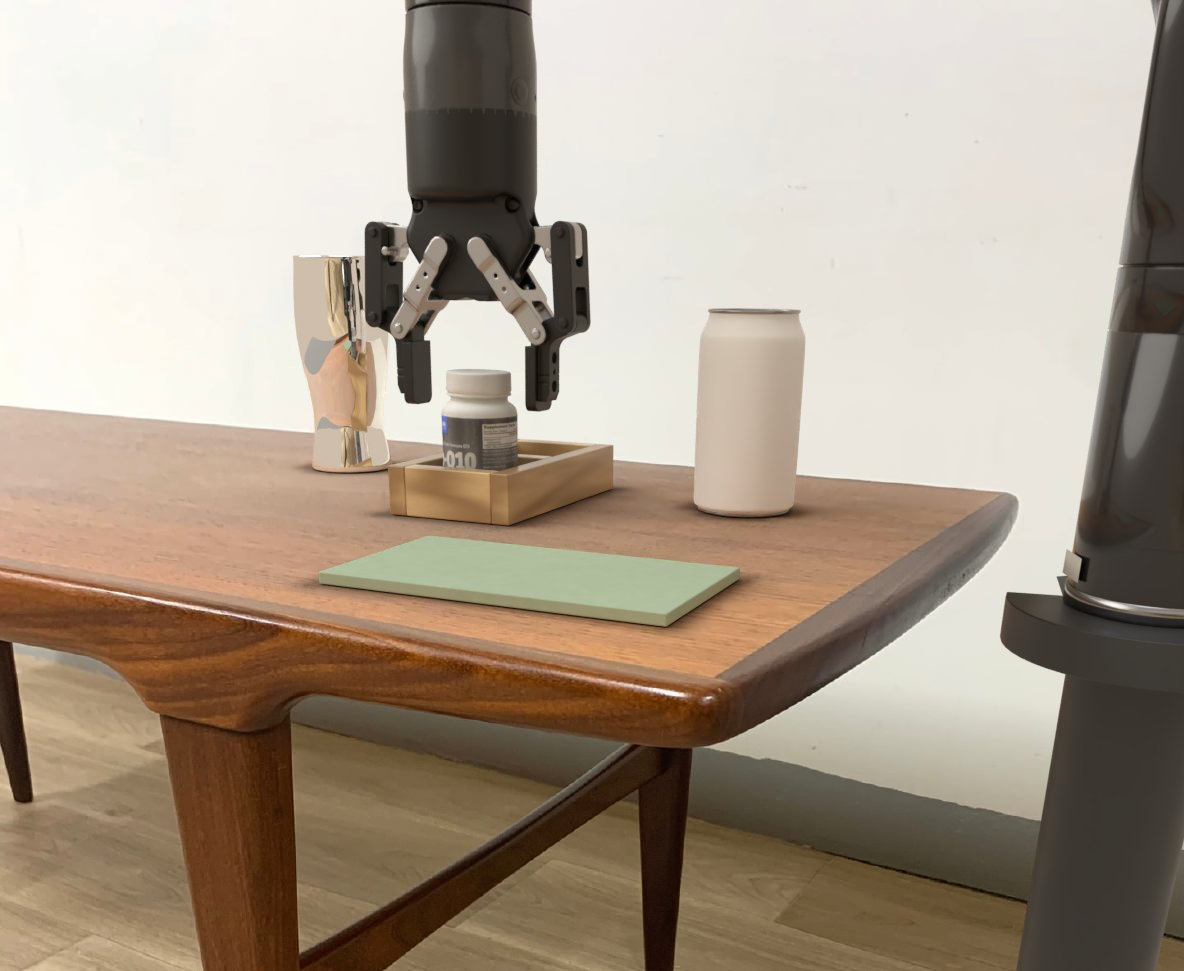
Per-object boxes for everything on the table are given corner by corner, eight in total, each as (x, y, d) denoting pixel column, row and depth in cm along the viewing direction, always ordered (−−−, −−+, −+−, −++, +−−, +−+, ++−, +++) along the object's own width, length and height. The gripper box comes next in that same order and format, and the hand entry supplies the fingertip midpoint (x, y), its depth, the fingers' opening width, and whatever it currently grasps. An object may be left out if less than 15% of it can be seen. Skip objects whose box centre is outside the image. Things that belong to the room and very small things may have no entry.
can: (683, 515, 77) (691, 310, 72) (703, 498, 82) (711, 307, 78) (786, 521, 75) (801, 311, 70) (799, 503, 81) (813, 309, 76)
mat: (739, 579, 60) (740, 567, 60) (666, 627, 52) (667, 613, 52) (428, 546, 67) (427, 535, 67) (318, 583, 59) (318, 571, 59)
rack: (613, 488, 86) (613, 444, 85) (508, 526, 73) (508, 474, 72) (508, 480, 89) (507, 437, 88) (390, 514, 76) (387, 465, 75)
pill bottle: (430, 508, 78) (424, 370, 75) (489, 500, 81) (486, 367, 78) (473, 518, 75) (469, 374, 72) (533, 510, 78) (532, 371, 74)
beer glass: (344, 458, 99) (330, 256, 93) (415, 464, 96) (405, 257, 90) (287, 469, 93) (268, 255, 87) (360, 476, 90) (346, 255, 84)
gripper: (612, 113, 70) (606, 408, 76) (400, 120, 75) (411, 396, 81) (554, 96, 63) (553, 419, 70) (327, 105, 69) (346, 405, 75)
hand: (477, 406), depth 76 cm, fingers open, 8 cm apart
